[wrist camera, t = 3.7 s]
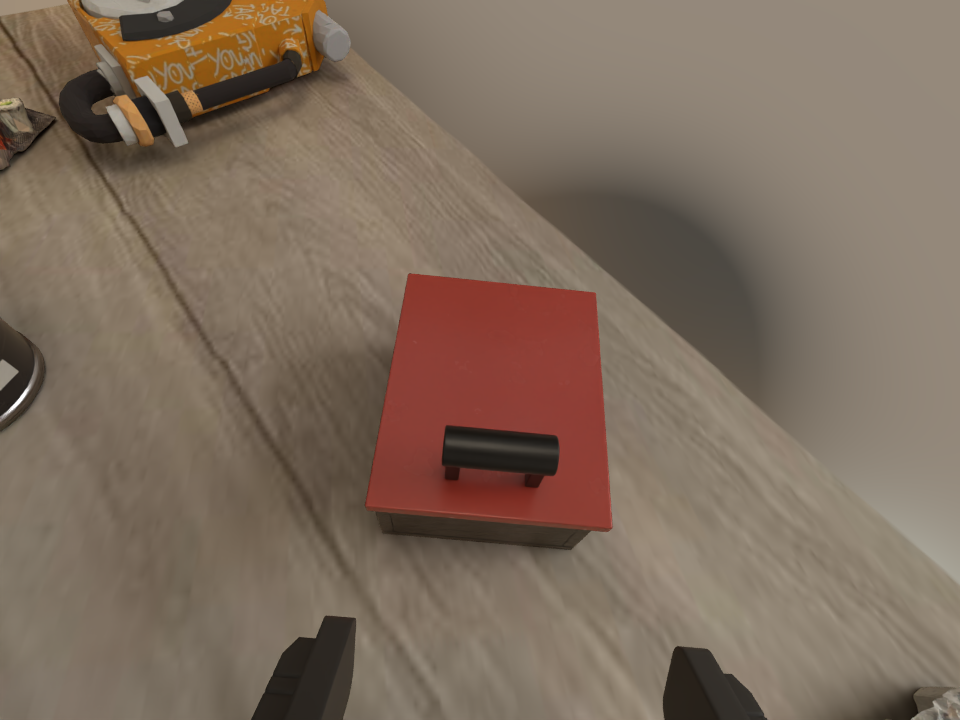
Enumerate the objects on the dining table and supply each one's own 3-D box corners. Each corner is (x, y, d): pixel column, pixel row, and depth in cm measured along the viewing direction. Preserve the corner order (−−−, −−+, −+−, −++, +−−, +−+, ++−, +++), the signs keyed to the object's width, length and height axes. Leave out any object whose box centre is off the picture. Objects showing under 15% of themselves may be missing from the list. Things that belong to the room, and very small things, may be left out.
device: (384, 6, 51) (59, 104, 39) (390, 88, 58) (115, 192, 46) (267, -77, 59) (-33, -16, 47) (285, 4, 66) (27, 74, 54)
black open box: (571, 550, 32) (607, 516, 26) (382, 533, 32) (369, 495, 26) (566, 363, 40) (592, 300, 33) (412, 348, 40) (408, 281, 33)
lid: (608, 532, 25) (645, 501, 21) (365, 511, 25) (352, 474, 21) (592, 300, 33) (617, 242, 29) (408, 281, 33) (405, 219, 29)
